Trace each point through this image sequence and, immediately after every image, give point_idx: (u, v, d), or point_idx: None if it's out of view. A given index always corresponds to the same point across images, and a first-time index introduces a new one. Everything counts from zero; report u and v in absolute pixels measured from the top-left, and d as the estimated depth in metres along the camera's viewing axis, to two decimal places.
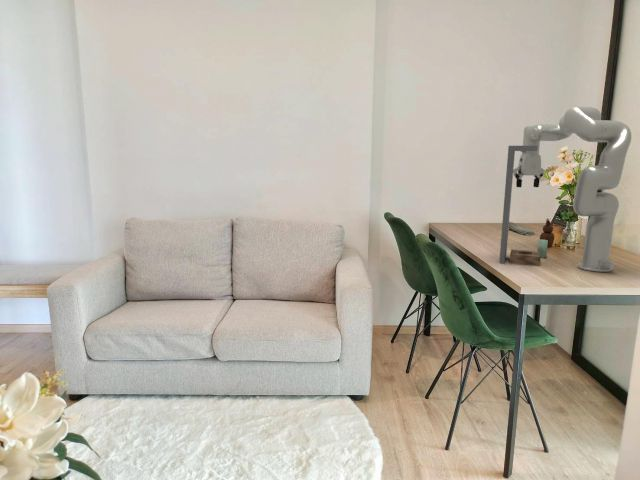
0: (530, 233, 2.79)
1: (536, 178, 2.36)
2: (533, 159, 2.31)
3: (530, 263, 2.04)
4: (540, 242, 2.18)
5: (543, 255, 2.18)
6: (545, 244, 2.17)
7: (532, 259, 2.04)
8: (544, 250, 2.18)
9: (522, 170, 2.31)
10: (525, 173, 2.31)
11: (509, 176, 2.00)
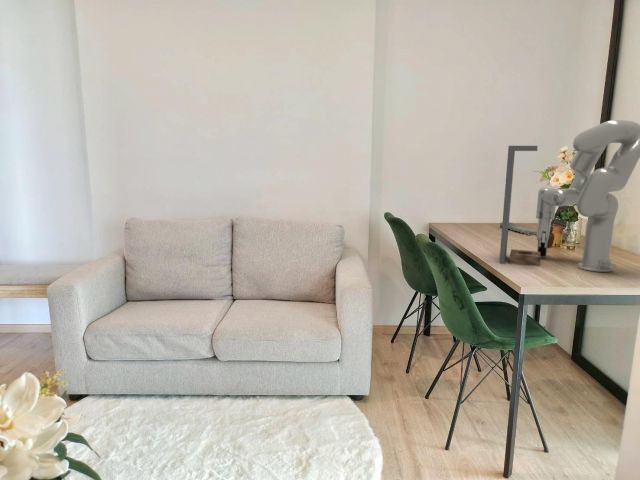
0: (533, 233, 2.79)
1: None
2: None
3: (530, 263, 2.04)
4: None
5: None
6: None
7: (532, 259, 2.04)
8: None
9: None
10: None
11: (509, 176, 2.00)
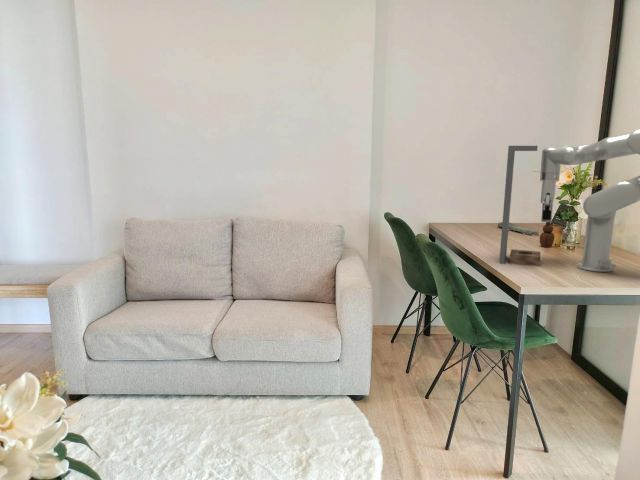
0: (535, 233, 2.79)
1: None
2: None
3: (530, 263, 2.04)
4: None
5: None
6: None
7: (532, 259, 2.04)
8: None
9: None
10: None
11: (509, 176, 2.00)
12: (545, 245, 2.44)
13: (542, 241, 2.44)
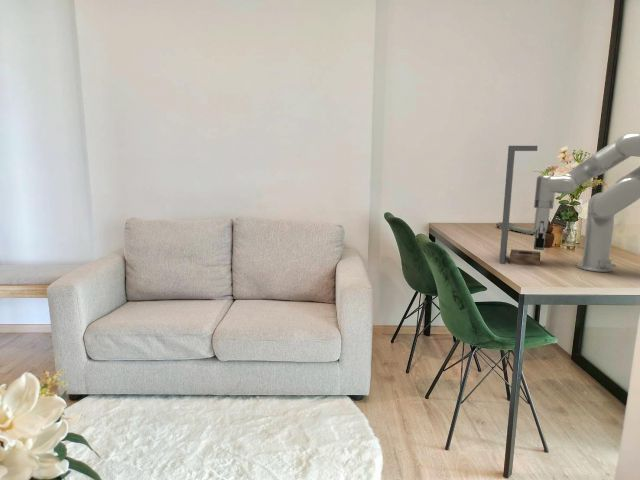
0: None
1: None
2: None
3: (530, 263, 2.04)
4: None
5: None
6: None
7: (532, 259, 2.04)
8: None
9: None
10: None
11: (509, 176, 2.00)
12: (545, 245, 2.44)
13: None
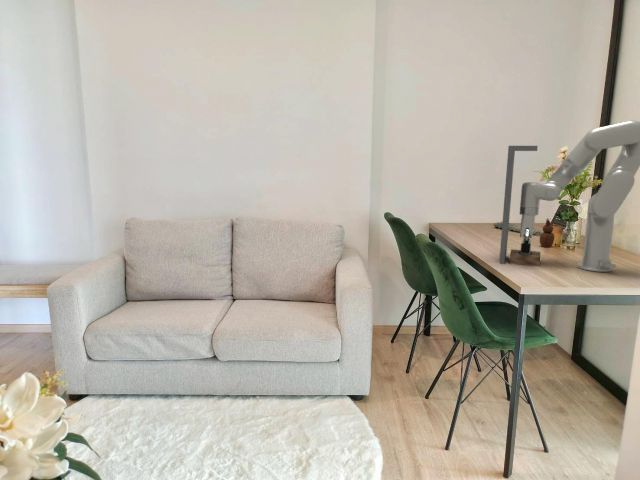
0: (539, 233, 2.80)
1: None
2: (521, 219, 2.09)
3: (530, 263, 2.04)
4: None
5: None
6: None
7: (532, 259, 2.04)
8: None
9: None
10: None
11: (509, 176, 2.00)
12: (545, 245, 2.44)
13: (542, 241, 2.44)
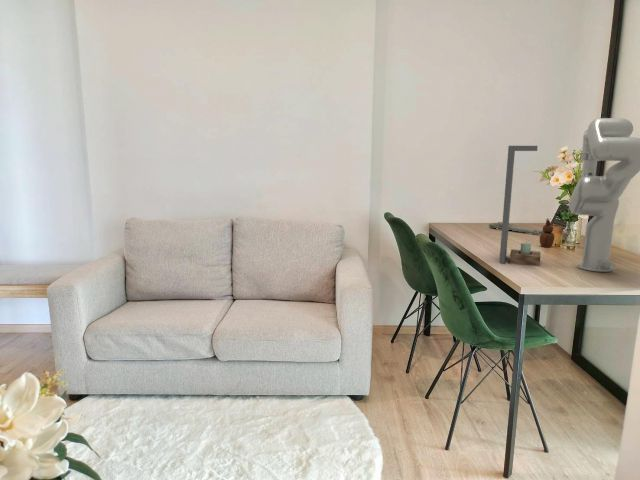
0: (542, 232, 2.82)
1: None
2: None
3: (530, 263, 2.04)
4: (523, 246, 2.08)
5: None
6: (528, 248, 2.08)
7: (532, 259, 2.04)
8: None
9: None
10: None
11: (509, 176, 2.00)
12: (545, 245, 2.44)
13: (542, 241, 2.44)
